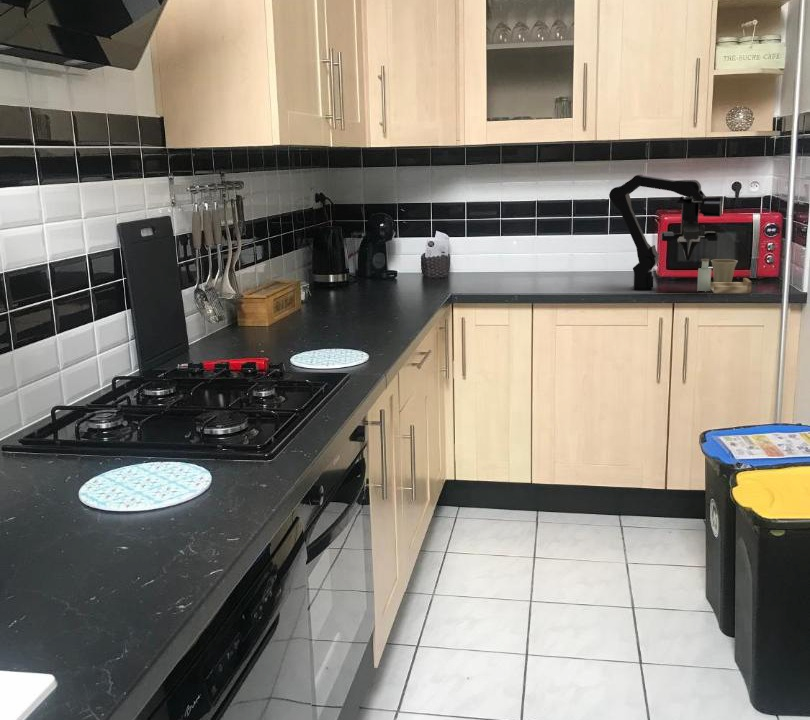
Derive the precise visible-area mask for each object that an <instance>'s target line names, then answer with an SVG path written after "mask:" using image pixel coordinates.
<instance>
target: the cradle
mask: <svg viewBox="0 0 810 720" xmlns="http://www.w3.org/2000/svg"><path fill="white" fill-rule="evenodd" d="M742 278H743V279H742V282H738V281H732V282H714V281H711V284H710V291H712V292H713V294H752V280H750V279H749V278H747V277H742Z"/></svg>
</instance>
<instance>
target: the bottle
mask: <svg viewBox="0 0 810 720" xmlns="http://www.w3.org/2000/svg"><path fill="white" fill-rule="evenodd" d="M700 261H701V268H698V269H697V271H698V272H697V287H696V291H697V292H698V291H705V292H704V293H707V292H706V291H710V292H711V282H712V280H711V279H712V268H709V261H710V258H701V260H700Z"/></svg>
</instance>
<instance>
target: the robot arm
mask: <svg viewBox="0 0 810 720" xmlns="http://www.w3.org/2000/svg"><path fill="white" fill-rule="evenodd" d="M639 187H641V188H642V187H643V188H651V189H657V190H663V191H669V192H673V193H675V194H679V195H680V198H679V199H678V200H677V201H676V204H678V205H679V204H681V219H680V221H681V222H680V233H674V231H662V232H661V233H660V241H661V242H671V241H673V240H677V243H678V244H680V246H681V247H682V250H683V253H684V258H685V260H686V261H690V259H691V256H692V254H693V251H694V249H695V247H697V245H698V244H701V241H700V240H704V239H705V240H707V241H709V242H710V241H711V242H717V241H718V239H719V238H718V237H719V235H718V233H717V231H714V230H713V231H712V230H709V231H706V226H705V225H704V224H700V225H699V216H700V215H699V213H700V214H701V215H703V218H705V217H706V218H708V217H713V218H714V217H720V218H721V216H722V212H723V211H722V210H723V205H722V197H721V196H715V197H713V196H712V197H710V196H709V197H707V196H706V195H705V193H704V192H703V191H702V185H701V183H700V182H699V181H698V180H697V179H683V180H682V179H677V180H676V179H669V178H662V177H661V178H660V177H655V176H647V175H643V174H636V175H634V176H633V177H632V178H630V179H629V180H628V181H627V182H625V183H623V184H622V185H619V186H616V187H614V188H612V189H611V190H610V192H609V194H608V197H609V199H610V201H611V203H612V204H613V206H614V207H615V208H616V209H617V210H618V212H620V214H621V216H622V219H623V221H624V223H625V225H626V227H627V229H628V232H629V234H630V237H631V238H632V241H633V243H634V245H635V247H636V254H637V259H638V263H637V264H636V265H635V266H633V267H632V270H633V282H632V283H633V286H632V288H633V291H652V290H653V288H654V276H653V271H652V270H653V268H654V267H656V266H657V264H658V263H659V256H660V253H659V252H658V251H657V249H656V245H655V244H653V245H651V244H649V242H648V240H647V239H646V236H645V234H644V232H643V230H642V227H641V226H640V224H639V220H638V218H637V217H636V214H635V212H634V210H633V207H632V200H631V196H630V194H632V193H633V192H635V190H638V188H639ZM685 197H686V198H685ZM694 200H695V201H694ZM688 240H689V243H688Z"/></svg>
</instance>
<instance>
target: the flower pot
mask: <svg viewBox="0 0 810 720" xmlns="http://www.w3.org/2000/svg"><path fill="white" fill-rule="evenodd" d="M710 262H711V266H712V271H713V272H712V273H713V275H712V276H713V282H733V278H734V274H735V270H736V269H735V268H736V266H737V264H738V260H736V259H728V258H723V259H722V258H719V259H718V258H717V259H712V260H710Z"/></svg>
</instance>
